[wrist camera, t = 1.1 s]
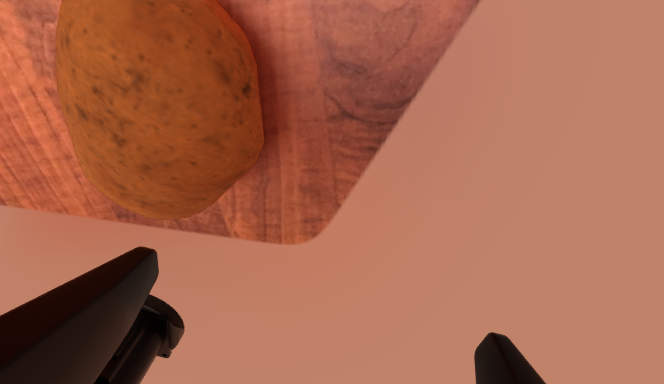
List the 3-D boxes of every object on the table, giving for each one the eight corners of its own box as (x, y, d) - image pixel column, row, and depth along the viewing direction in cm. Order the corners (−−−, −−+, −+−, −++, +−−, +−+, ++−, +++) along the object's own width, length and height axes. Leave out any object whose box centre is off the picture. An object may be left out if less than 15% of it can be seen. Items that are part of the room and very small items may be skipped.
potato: (320, 53, 17) (286, 94, 11) (237, 201, 23) (183, 284, 16) (148, -63, 15) (-13, -96, 9) (105, 129, 21) (-13, 191, 15)
